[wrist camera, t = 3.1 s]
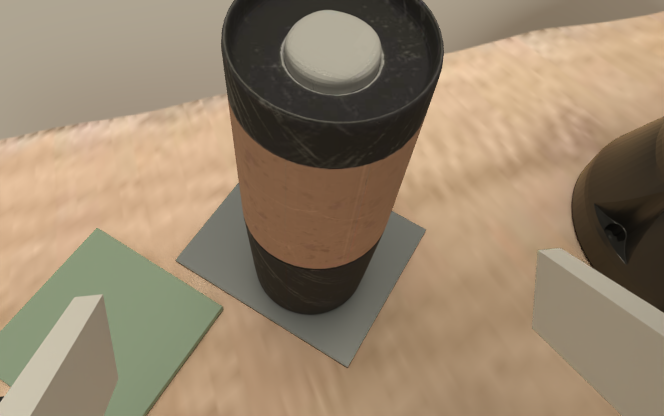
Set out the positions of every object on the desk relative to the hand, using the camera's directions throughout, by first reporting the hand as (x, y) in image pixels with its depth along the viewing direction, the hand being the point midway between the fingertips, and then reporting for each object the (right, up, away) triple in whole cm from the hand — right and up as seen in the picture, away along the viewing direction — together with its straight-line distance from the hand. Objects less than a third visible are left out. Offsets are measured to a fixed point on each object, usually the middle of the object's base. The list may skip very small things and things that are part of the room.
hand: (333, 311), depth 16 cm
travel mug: (-2, -1, +19) cm, 19 cm away
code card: (-2, +1, +20) cm, 20 cm away
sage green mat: (-14, -5, +16) cm, 22 cm away
